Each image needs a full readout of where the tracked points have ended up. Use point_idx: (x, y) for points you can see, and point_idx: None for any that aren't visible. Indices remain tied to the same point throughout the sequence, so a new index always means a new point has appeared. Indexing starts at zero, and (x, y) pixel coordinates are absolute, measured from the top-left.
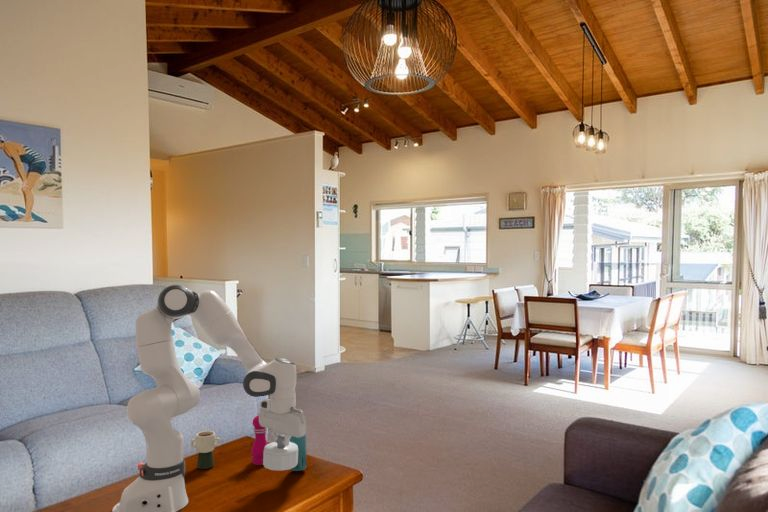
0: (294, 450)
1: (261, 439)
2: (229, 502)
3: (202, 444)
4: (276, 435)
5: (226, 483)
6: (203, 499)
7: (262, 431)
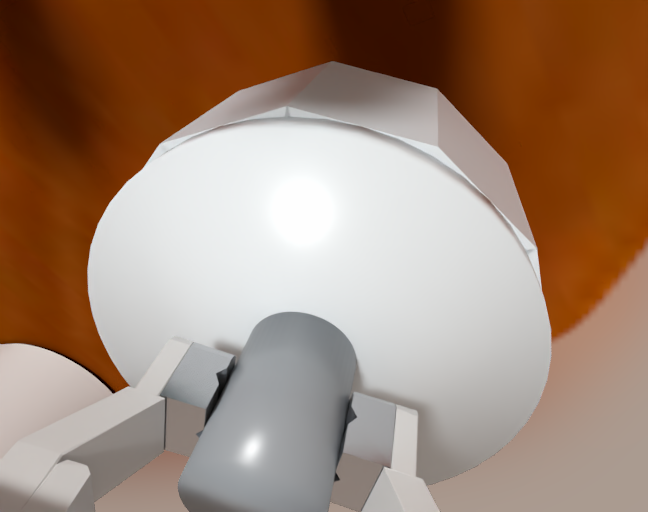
0: (535, 402)
1: None
2: None
3: None
4: (133, 448)
5: (64, 201)
6: None
7: None
